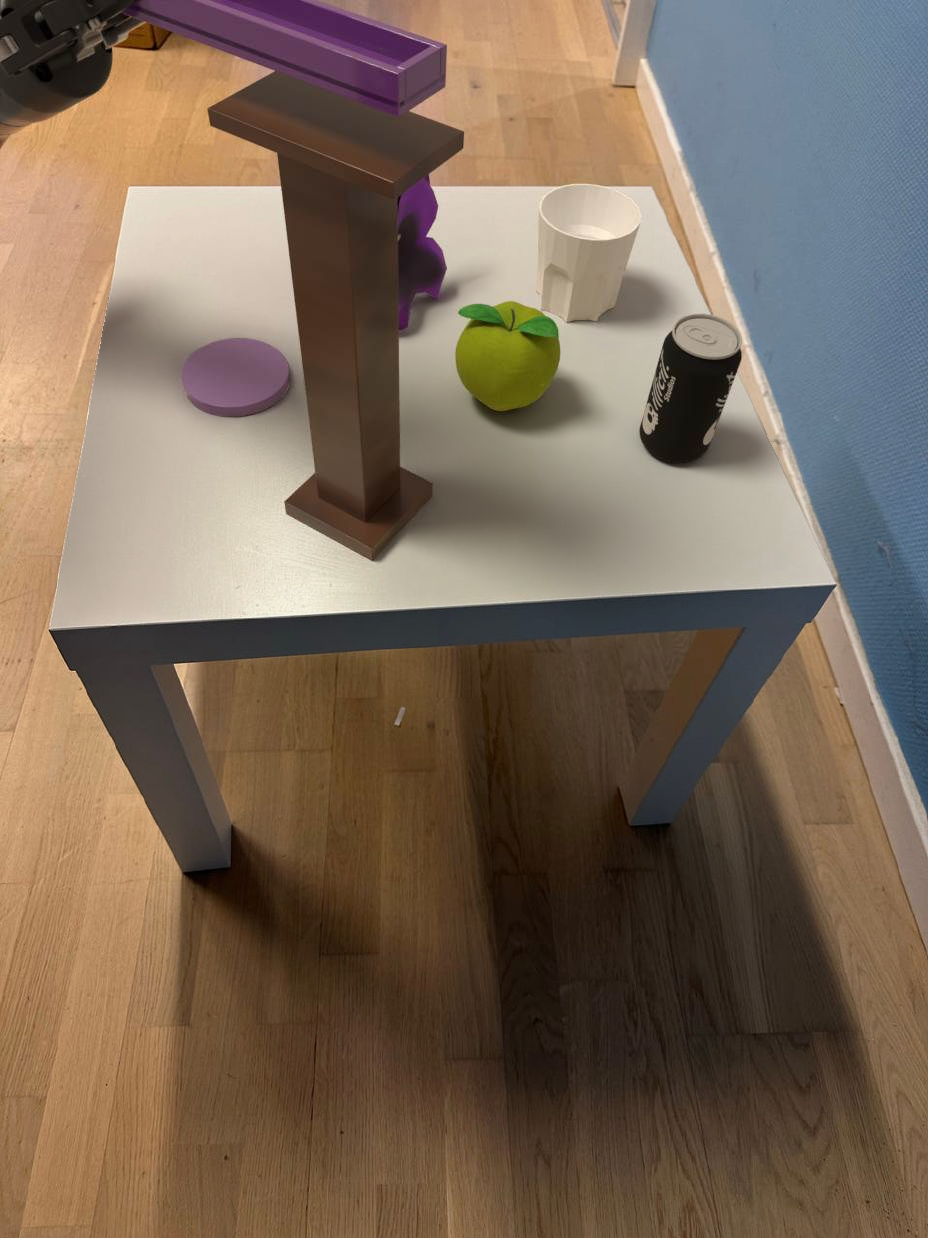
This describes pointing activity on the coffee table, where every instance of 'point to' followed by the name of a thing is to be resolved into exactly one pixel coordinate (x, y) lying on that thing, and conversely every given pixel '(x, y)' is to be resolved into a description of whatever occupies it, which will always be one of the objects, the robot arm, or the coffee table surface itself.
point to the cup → (583, 249)
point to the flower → (417, 248)
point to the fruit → (507, 354)
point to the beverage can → (690, 387)
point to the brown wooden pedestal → (345, 289)
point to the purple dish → (312, 46)
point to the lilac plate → (235, 377)
